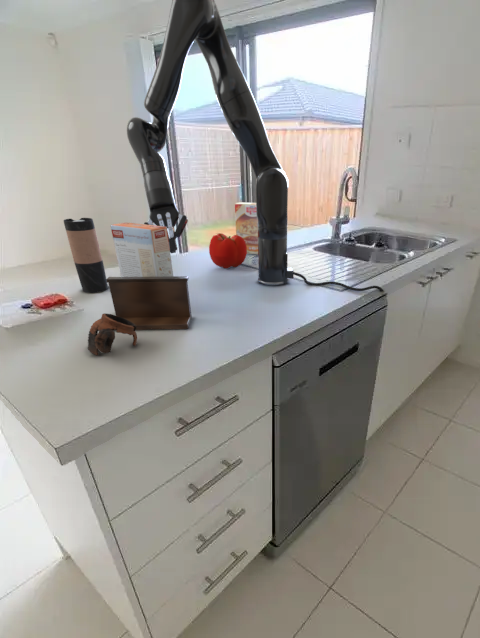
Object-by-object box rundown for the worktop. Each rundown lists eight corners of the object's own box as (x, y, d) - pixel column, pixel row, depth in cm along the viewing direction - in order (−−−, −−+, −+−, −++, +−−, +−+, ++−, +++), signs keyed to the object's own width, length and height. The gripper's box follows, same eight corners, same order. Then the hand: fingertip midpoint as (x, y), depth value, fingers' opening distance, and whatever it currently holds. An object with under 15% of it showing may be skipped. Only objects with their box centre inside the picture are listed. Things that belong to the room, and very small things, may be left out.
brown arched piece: (90, 342, 83) (102, 308, 81) (132, 358, 85) (145, 325, 84) (72, 354, 71) (86, 314, 70) (122, 371, 74) (136, 333, 73)
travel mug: (99, 294, 110) (81, 222, 100) (76, 292, 111) (56, 220, 101) (114, 286, 116) (98, 218, 106) (92, 284, 118) (75, 217, 107)
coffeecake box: (236, 253, 157) (234, 203, 147) (240, 250, 163) (238, 201, 153) (270, 255, 155) (270, 204, 145) (273, 251, 161) (274, 203, 151)
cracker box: (179, 306, 102) (168, 225, 91) (163, 313, 97) (149, 229, 87) (142, 298, 107) (127, 221, 97) (125, 304, 103) (108, 224, 92)
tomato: (204, 269, 135) (201, 235, 129) (223, 260, 147) (221, 229, 141) (236, 273, 131) (234, 238, 125) (253, 264, 143) (253, 232, 137)
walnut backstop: (192, 318, 95) (188, 276, 89) (189, 328, 89) (183, 284, 83) (118, 319, 93) (108, 276, 88) (109, 330, 87) (98, 285, 82)
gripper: (132, 191, 103) (146, 252, 104) (179, 182, 104) (193, 244, 105) (140, 202, 110) (153, 260, 111) (184, 194, 111) (197, 251, 112)
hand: (173, 252), depth 108 cm, fingers closed
